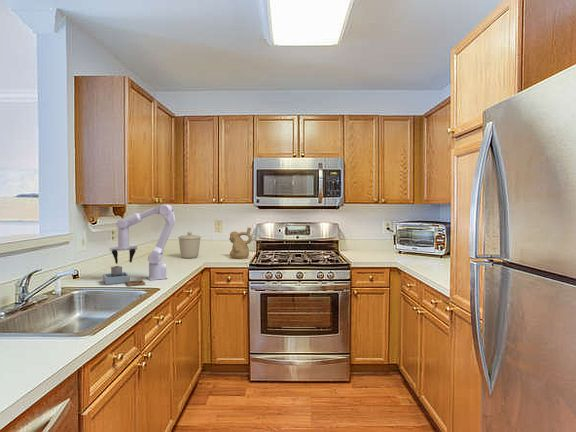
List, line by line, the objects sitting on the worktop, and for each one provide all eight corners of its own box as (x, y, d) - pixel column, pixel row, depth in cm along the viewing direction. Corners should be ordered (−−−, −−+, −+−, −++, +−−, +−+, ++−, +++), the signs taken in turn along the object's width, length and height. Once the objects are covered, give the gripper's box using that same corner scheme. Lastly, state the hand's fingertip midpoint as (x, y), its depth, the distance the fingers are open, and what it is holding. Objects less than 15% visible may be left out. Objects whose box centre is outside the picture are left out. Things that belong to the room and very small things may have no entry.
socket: (141, 282, 212) (141, 279, 212) (145, 284, 205) (145, 282, 205) (125, 283, 207) (125, 281, 207) (128, 286, 200) (128, 284, 200)
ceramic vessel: (233, 256, 318) (233, 226, 317) (255, 257, 313) (255, 227, 312) (224, 258, 302) (224, 227, 301) (247, 260, 296) (247, 228, 295)
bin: (125, 279, 219) (125, 272, 219) (129, 282, 209) (129, 275, 209) (102, 281, 213) (102, 274, 213) (105, 285, 203) (105, 277, 202)
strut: (117, 280, 213) (117, 265, 213) (122, 280, 211) (122, 266, 211) (111, 281, 210) (111, 266, 210) (115, 282, 208) (115, 267, 208)
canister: (196, 255, 318) (196, 230, 317) (204, 258, 303) (204, 232, 302) (175, 256, 308) (175, 231, 308) (181, 259, 293) (181, 232, 292)
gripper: (111, 240, 211) (111, 264, 212) (138, 239, 220) (138, 262, 220) (108, 239, 217) (108, 263, 217) (135, 238, 225) (135, 261, 226)
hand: (123, 262), depth 219 cm, fingers open, 7 cm apart
